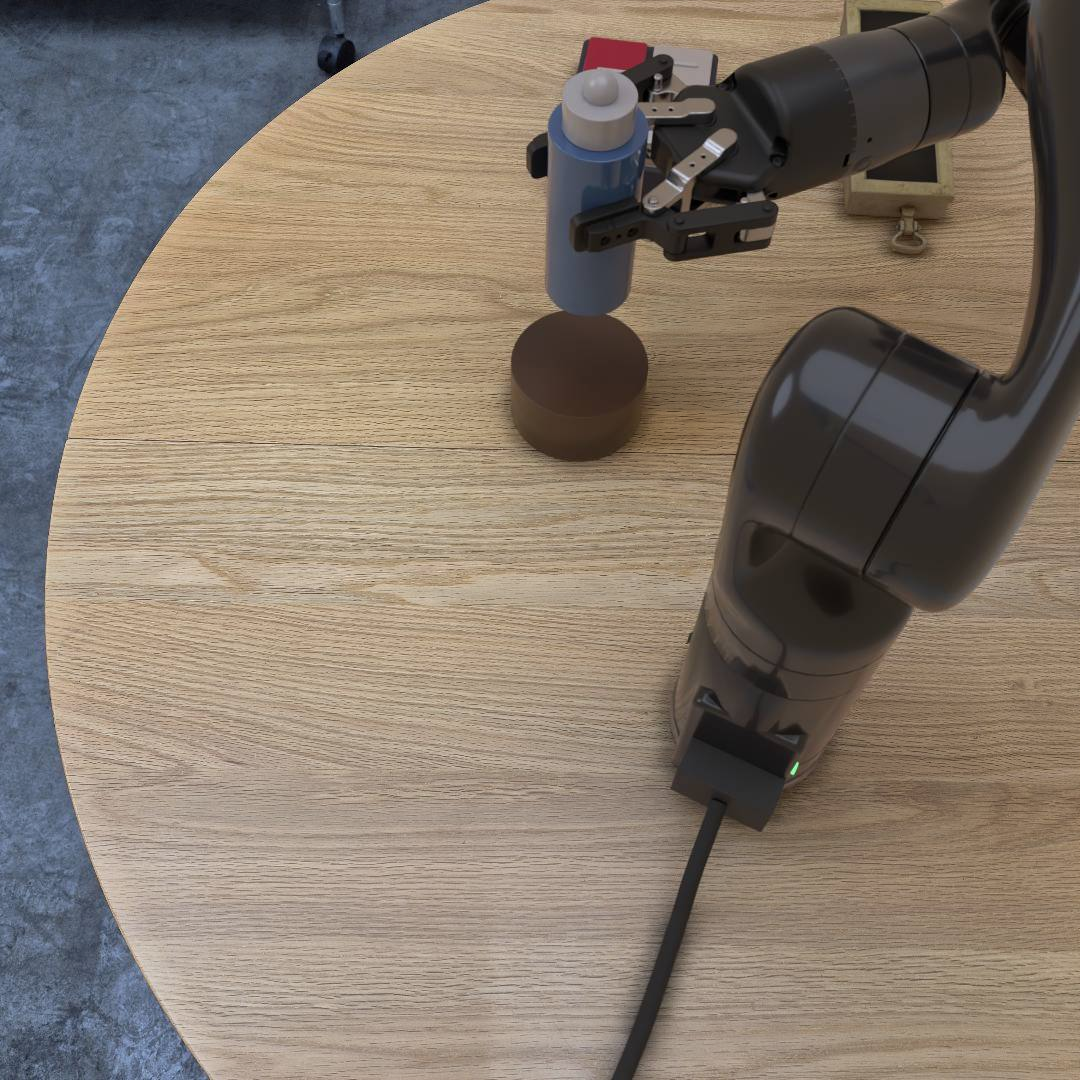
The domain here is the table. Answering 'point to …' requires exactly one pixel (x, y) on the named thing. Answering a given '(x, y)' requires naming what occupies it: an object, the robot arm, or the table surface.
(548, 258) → the pepper mill
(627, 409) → the stand
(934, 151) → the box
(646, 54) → the calculator
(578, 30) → the table surface
